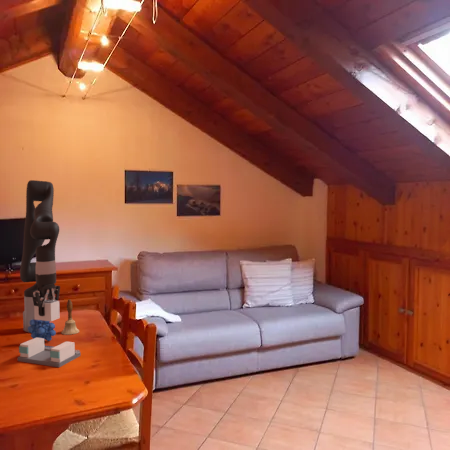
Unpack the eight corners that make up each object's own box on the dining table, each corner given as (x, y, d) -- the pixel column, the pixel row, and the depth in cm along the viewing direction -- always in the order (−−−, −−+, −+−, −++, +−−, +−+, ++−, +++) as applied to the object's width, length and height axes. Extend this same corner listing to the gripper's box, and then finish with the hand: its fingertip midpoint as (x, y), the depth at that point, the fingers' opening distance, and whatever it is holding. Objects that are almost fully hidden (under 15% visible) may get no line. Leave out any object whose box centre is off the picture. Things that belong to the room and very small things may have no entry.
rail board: (17, 360, 175) (17, 344, 175) (40, 350, 188) (40, 335, 187) (59, 367, 169) (58, 350, 168) (80, 355, 181) (80, 340, 181)
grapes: (26, 346, 192) (25, 319, 191) (28, 341, 198) (28, 315, 197) (55, 344, 195) (54, 317, 194) (56, 339, 201) (55, 313, 201)
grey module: (34, 319, 175) (34, 301, 175) (43, 316, 180) (42, 298, 179) (51, 321, 173) (50, 302, 172) (59, 318, 177) (59, 299, 177)
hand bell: (75, 335, 208) (75, 301, 207) (58, 334, 208) (57, 301, 207) (81, 329, 216) (81, 297, 215) (65, 329, 216) (64, 297, 215)
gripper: (50, 268, 183) (51, 308, 184) (24, 274, 169) (26, 317, 170) (65, 269, 180) (66, 310, 182) (40, 275, 167) (41, 319, 168)
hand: (46, 313), depth 176 cm, fingers closed on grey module, 5 cm apart
